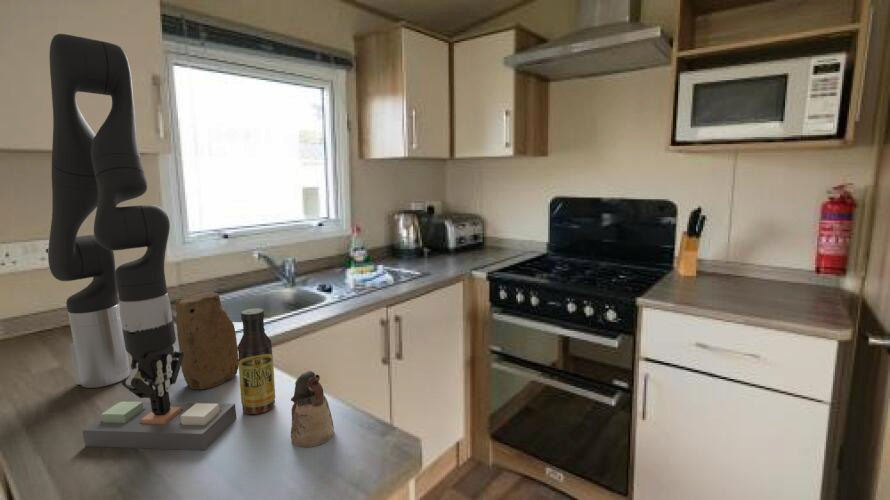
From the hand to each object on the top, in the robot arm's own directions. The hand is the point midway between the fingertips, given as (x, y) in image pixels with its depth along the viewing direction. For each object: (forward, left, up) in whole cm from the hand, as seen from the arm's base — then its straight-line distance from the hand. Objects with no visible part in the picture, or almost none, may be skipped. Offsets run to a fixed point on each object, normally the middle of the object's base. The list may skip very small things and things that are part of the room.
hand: (162, 413), depth 84 cm
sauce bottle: (+14, +9, -4) cm, 17 cm away
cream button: (+7, 0, -1) cm, 7 cm away
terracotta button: (0, 0, -2) cm, 2 cm away
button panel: (0, 0, -4) cm, 4 cm away
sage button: (-8, 0, -1) cm, 8 cm away
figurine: (+28, 0, -4) cm, 28 cm away
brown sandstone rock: (-3, +20, -4) cm, 21 cm away
